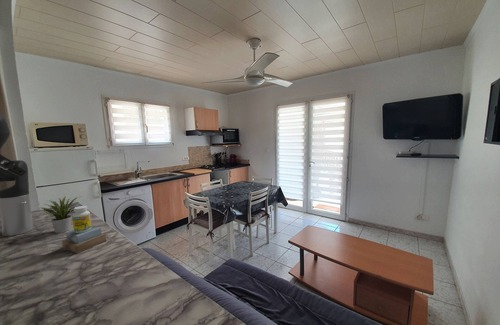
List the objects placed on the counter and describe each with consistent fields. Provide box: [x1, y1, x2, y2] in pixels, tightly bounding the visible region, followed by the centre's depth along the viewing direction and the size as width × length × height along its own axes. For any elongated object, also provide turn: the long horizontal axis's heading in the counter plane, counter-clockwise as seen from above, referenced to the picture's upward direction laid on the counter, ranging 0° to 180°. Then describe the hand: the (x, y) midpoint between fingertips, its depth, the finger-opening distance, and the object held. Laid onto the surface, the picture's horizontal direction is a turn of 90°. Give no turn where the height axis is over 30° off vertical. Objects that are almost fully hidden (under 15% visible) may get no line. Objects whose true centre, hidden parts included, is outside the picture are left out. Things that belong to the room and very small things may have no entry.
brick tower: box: [61, 224, 107, 254], centre depth 80 cm, size 10×10×6 cm
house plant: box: [40, 196, 82, 234], centre depth 93 cm, size 14×14×16 cm
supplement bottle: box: [72, 205, 92, 233], centre depth 79 cm, size 5×5×10 cm
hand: (17, 173), depth 67 cm, fingers open, 8 cm apart
